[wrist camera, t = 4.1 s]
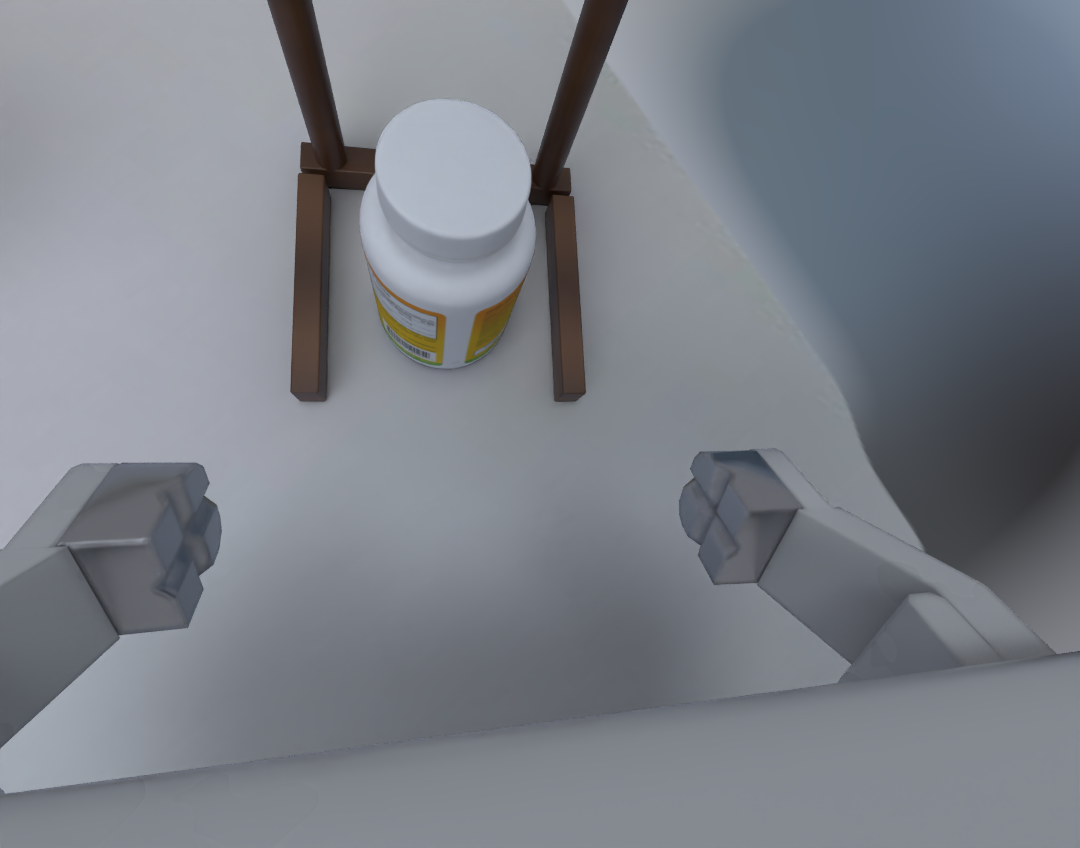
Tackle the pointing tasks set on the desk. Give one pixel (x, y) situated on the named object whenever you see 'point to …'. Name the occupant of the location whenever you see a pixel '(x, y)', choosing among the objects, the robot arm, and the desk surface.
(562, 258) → the frame
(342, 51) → the desk surface
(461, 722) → the desk surface
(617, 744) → the robot arm
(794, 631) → the desk surface
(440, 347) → the supplement bottle
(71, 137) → the desk surface
